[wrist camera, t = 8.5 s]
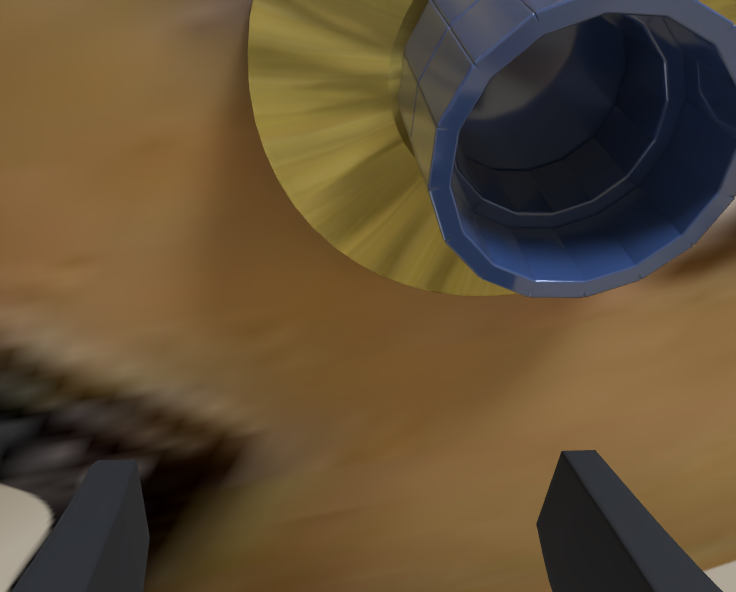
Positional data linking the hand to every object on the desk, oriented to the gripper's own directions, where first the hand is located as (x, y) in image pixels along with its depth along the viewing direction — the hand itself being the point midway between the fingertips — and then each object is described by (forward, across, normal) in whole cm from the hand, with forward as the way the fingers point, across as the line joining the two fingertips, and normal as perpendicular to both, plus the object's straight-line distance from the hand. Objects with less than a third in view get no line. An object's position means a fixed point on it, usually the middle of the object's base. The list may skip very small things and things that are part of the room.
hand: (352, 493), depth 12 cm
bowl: (+7, -4, -5) cm, 10 cm away
